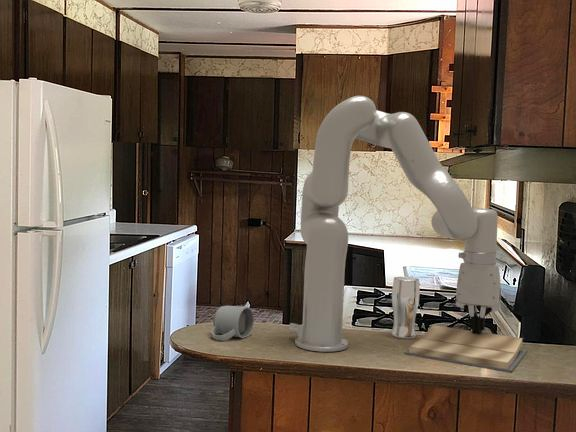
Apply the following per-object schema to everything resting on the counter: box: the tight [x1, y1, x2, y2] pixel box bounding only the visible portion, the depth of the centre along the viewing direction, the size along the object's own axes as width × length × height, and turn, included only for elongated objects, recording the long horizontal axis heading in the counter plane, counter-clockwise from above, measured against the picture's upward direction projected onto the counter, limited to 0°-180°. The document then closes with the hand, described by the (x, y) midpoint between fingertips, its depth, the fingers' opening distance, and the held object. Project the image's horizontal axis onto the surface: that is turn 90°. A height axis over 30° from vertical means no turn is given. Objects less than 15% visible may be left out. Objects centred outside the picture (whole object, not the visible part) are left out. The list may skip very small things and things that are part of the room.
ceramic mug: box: [210, 305, 255, 342], centre depth 162 cm, size 11×8×8 cm
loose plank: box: [421, 324, 524, 359], centre depth 159 cm, size 22×9×2 cm, turn 61°
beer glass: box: [391, 276, 420, 340], centre depth 170 cm, size 7×7×15 cm
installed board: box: [408, 338, 515, 369], centre depth 151 cm, size 22×9×2 cm, turn 61°
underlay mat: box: [404, 349, 528, 374], centre depth 155 cm, size 24×20×1 cm
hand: (477, 332), depth 162 cm, fingers closed
